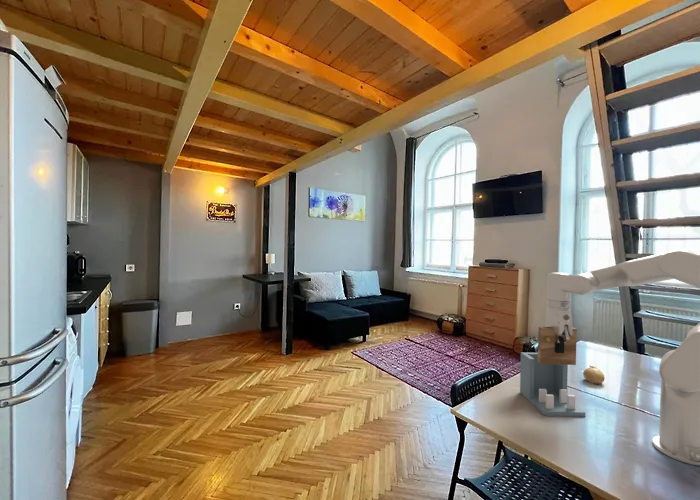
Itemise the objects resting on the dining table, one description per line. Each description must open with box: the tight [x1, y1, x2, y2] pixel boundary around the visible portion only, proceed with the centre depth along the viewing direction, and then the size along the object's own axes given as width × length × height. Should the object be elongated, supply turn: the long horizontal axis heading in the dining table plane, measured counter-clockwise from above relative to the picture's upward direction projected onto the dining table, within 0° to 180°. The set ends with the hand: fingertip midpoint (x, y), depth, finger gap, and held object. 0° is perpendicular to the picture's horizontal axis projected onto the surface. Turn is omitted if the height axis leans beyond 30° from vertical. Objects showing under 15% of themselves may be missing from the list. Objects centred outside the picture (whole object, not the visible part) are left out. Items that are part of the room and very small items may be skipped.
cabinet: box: [519, 351, 586, 417], centre depth 125 cm, size 18×15×18 cm
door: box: [537, 326, 578, 366], centre depth 120 cm, size 3×13×14 cm, turn 88°
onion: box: [582, 364, 606, 385], centre depth 145 cm, size 8×8×7 cm
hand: (556, 350), depth 121 cm, fingers closed on door, 2 cm apart
